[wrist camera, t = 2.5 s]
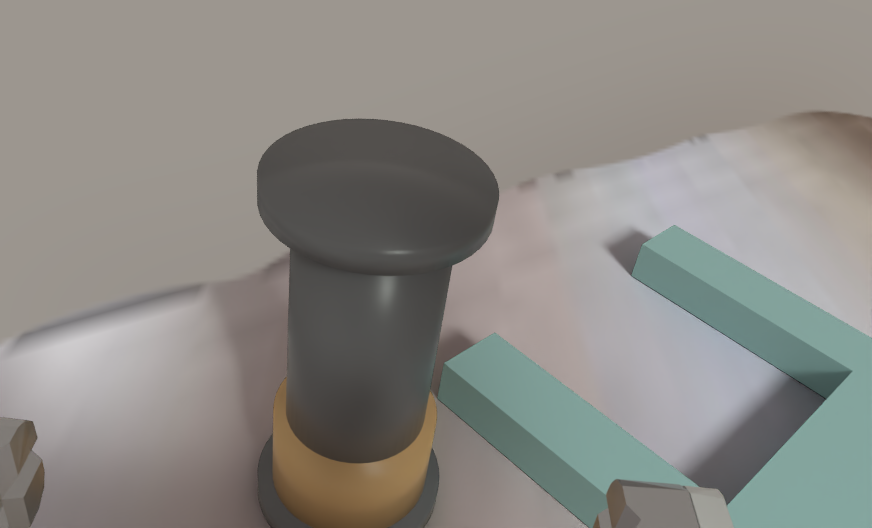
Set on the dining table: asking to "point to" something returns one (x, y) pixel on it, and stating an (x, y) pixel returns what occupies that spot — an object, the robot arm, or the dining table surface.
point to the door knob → (364, 315)
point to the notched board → (631, 460)
